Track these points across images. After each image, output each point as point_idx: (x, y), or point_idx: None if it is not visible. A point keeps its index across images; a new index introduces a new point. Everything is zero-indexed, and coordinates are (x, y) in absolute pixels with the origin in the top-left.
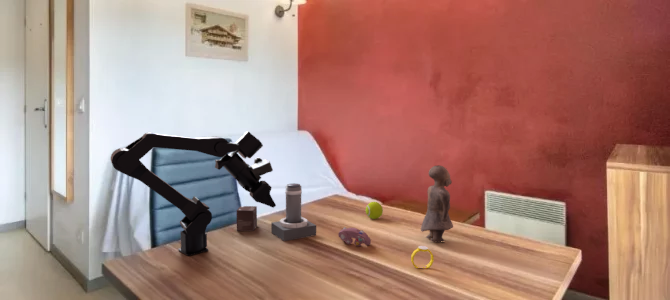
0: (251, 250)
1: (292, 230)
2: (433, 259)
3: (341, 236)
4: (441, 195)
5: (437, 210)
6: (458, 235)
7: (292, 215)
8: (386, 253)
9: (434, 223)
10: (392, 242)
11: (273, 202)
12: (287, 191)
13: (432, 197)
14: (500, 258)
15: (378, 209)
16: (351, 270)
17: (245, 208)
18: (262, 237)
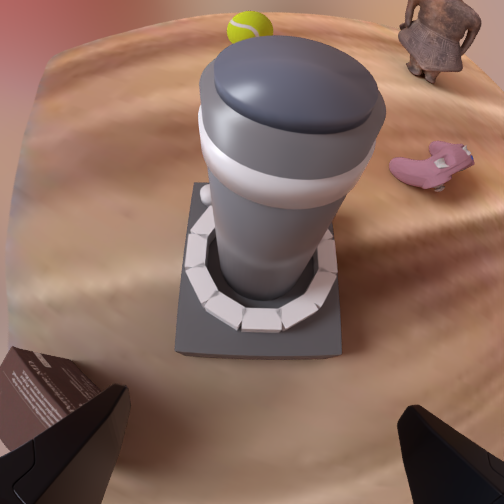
0: (355, 498)
1: (337, 307)
2: None
3: (442, 189)
4: (478, 21)
5: (459, 39)
6: (400, 48)
7: (307, 262)
8: (476, 165)
9: (456, 61)
10: (423, 115)
11: (445, 431)
12: (324, 185)
13: (456, 17)
14: (482, 90)
15: (272, 26)
16: None
17: (19, 423)
18: (229, 421)
